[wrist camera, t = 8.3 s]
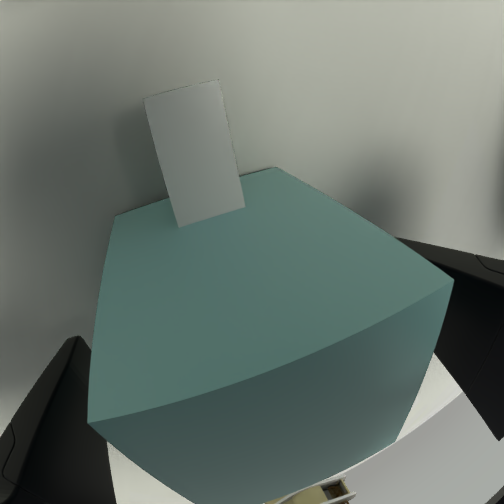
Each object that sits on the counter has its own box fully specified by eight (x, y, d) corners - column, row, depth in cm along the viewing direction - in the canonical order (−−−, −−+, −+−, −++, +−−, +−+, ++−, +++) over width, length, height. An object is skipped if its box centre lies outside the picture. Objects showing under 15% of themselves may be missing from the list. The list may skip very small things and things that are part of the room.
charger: (296, 305, 11) (394, 441, 6) (174, 348, 10) (217, 516, 5) (259, 74, 7) (468, 59, 2) (84, 121, 6) (-68, 184, 1)
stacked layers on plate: (291, 496, 25) (310, 535, 21) (226, 500, 21) (244, 550, 16) (362, 448, 24) (390, 490, 19) (306, 449, 19) (338, 508, 14)
